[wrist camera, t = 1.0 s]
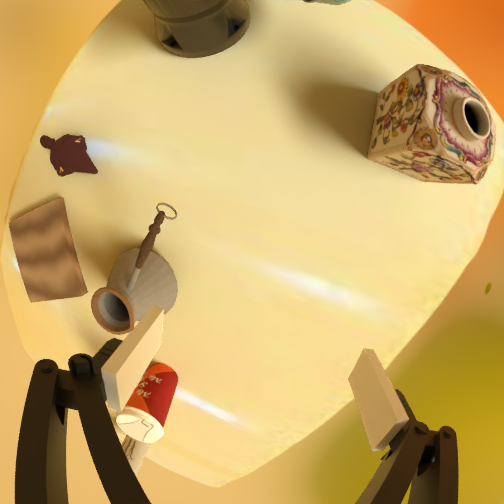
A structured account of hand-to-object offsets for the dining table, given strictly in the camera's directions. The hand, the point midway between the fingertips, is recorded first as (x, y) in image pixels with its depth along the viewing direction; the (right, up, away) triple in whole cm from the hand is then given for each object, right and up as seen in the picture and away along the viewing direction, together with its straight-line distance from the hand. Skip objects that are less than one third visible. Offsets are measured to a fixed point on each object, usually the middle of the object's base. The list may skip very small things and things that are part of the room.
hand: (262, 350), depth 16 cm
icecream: (-30, +23, +22) cm, 43 cm away
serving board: (-42, +6, +26) cm, 50 cm away
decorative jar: (+23, +24, +18) cm, 38 cm away
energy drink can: (-28, -38, +37) cm, 60 cm away
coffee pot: (-14, +6, +25) cm, 29 cm away
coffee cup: (-18, -18, +31) cm, 40 cm away
